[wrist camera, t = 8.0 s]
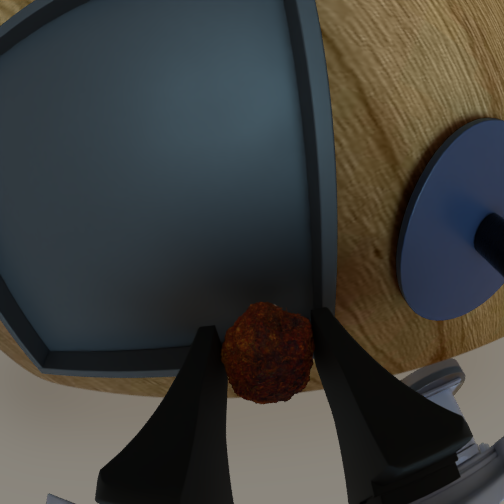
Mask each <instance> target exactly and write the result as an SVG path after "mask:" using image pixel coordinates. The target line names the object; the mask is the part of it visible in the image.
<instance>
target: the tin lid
mask: <svg viewBox="0 0 504 504" xmlns="http://www.w3.org/2000/svg"><path fill="white" fill-rule="evenodd" d="M396 270H397V278H398V284H399V287H400V290H401V293H402V295H403V297H404V299H405V300H406V302H407V303H408V305H409V306H410V308H411V309H412V310H413V311H414V312H415V313H417V314H418V315H420V316H421V317H424V318H426V319H429V320H436V321H437V320H448V319H453V318H456V317H459V316H462V315H464V314H466V313H468V312H470V311H472V310H473V309H475V308H477V307H478V306H480V305H481V304H482V303H484V302H485V301H486V300H487V299H489V298H490V297H491V296H492V295H493V294H494V293H495V292H496V291H497V290H498V289H499V288H500V287H501V286H502V285H503V284H504V121H503V120H500V119H496V118H482V119H477V120H474V121H472V122H470V123H467V124H466V125H464V126H462V127H461V128H459V129H458V130H456V131H455V132H454V133H453V134H452V135H451V136H450V137H449V138H447V139H446V141H445V142H444V143H443V144H442V145H441V146H440V147H439V149H438V150H437V151H436V152H435V154H434V155H433V157H432V158H431V160H430V161H429V163H428V164H427V166H426V167H425V169H424V171H423V173H422V175H421V176H420V178H419V180H418V182H417V184H416V186H415V189H414V191H413V193H412V195H411V197H410V200H409V203H408V206H407V208H406V211H405V214H404V218H403V221H402V225H401V229H400V233H399V239H398V244H397V255H396Z"/></svg>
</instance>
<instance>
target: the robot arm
mask: <svg viewBox="0 0 504 504" xmlns="http://www.w3.org/2000/svg"><path fill="white" fill-rule="evenodd" d="M311 325H312V330H313V338H314V344H315V350H314V352H313V355H314V360H315V364H316V368H317V371H318V373H319V376H320V379H321V382H322V385H323V388H324V391H325V393H326V396H327V399H328V402H329V405H330V408H331V411H332V414H333V418H334V421H335V426H336V430H337V435H338V440H339V445H340V450H341V455H342V461H343V467H344V473H345V479H346V487H347V495H348V503H349V504H500V503H501V502H502V501H503V500H504V437H502V438H501V439H500V440H498V441H497V442H496V443H495V444H494V445H493V446H491V447H489V445H488V444H484V443H481V444H480V445H479V446H478V445H477V444H476V443H475V441H474V438H473V435H472V433H471V431H470V428H469V426H468V424H467V422H466V421H465V419H464V416H463V414H462V412H461V410H460V408H459V406H458V404H457V402H456V400H455V399H454V396H453V394H452V393H453V391H454V390H455V388H456V387H457V386H458V384H459V383H460V381H461V378H460V377H458V378H456V379H454V380H452V381H450V382H448V383H445V384H443V385H441V386H439V387H437V388H434V389H432V390H430V391H427V392H425V393H422V394H419V393H417V392H416V391H414V390H413V389H411V388H410V387H408V386H407V385H405V384H404V383H402V382H401V381H400V380H398V379H397V378H396V377H394V376H393V375H392V374H391V373H389V372H388V371H387V370H386V369H385V368H383V367H382V366H381V365H380V364H379V363H378V362H377V361H375V360H374V359H373V358H372V357H371V356H370V355H369V354H368V353H367V352H366V351H365V350H364V349H363V348H362V347H361V346H360V345H359V344H358V343H357V342H356V341H355V340H354V338H353V337H352V336H351V335H350V334H349V333H348V332H347V331H346V330H345V328H344V327H343V326H342V325H341V324H340V322H339V321H338V320H337V319H336V318H335V316H334V315H333V314H332V312H331V311H330V310H329V308H327V307H323V308H318V309H313V310H311ZM221 349H222V344H221V341H220V339H219V336H218V333H217V330H216V327H215V325H211V326H203V327H199V328H198V329H197V332H196V335H195V337H194V340H193V342H192V344H191V347H190V349H189V351H188V354H187V356H186V358H185V360H184V362H183V364H182V366H181V368H180V370H179V372H178V374H177V376H176V378H175V380H174V381H173V383H172V385H171V387H170V389H169V390H168V392H167V394H166V395H165V397H164V399H163V400H162V402H161V403H160V405H159V406H158V408H157V409H156V411H155V412H154V414H153V415H152V416H151V418H150V419H149V420H148V421H147V423H146V424H145V425H144V427H143V428H142V429H141V430H140V431H139V433H138V434H137V435H136V436H135V437H134V438H133V439H132V440H131V442H130V443H129V444H128V445H127V446H126V447H125V448H124V449H123V450H122V451H121V452H120V453H119V454H118V455H117V456H116V457H114V458H113V459H112V460H111V461H110V462H109V463H108V464H106V465H105V466H104V467H103V468H102V469H101V470H100V472H99V476H98V480H97V488H96V496H95V501H96V502H97V503H99V504H234V502H233V496H232V490H231V483H230V475H229V465H228V456H227V444H226V410H227V386H228V377H227V373H226V369H225V366H224V365H225V364H223V363H222V362H221V357H222V356H221V355H220V354H221ZM479 448H480V449H479ZM46 504H75V503H72V502H70V501H67V500H64V499H62V498H59V497H57V496H54V495H52V494H48V495H47V502H46Z"/></svg>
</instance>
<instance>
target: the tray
mask: <svg viewBox="0 0 504 504" xmlns="http://www.w3.org/2000/svg"><path fill="white" fill-rule="evenodd" d="M336 277H337V184H336V161H335V145H334V131H333V119H332V109H331V99H330V90H329V82H328V74H327V66H326V59H325V53H324V46H323V40H322V34H321V29H320V23H319V18H318V13H317V8H316V3H315V0H35V1H33V2H32V3H30V4H29V5H28V6H26V7H25V8H23V9H22V10H20V11H19V12H18V13H16V14H15V15H14V16H12V17H11V18H10V19H9V20H7V21H6V22H5V23H3V24H2V25H1V26H0V320H1V321H2V323H3V324H4V326H5V327H6V329H7V330H8V331H9V333H10V334H11V336H12V337H13V338H14V340H15V341H16V342H17V344H18V345H19V346H20V347H21V349H22V350H23V351H24V353H25V354H26V355H27V356H28V357H29V359H30V360H31V361H32V362H33V363H34V365H35V366H36V367H37V368H38V369H39V370H40V371H41V373H44V374H54V375H66V376H82V377H108V378H145V377H172V376H177V374H178V372H179V370H180V368H181V366H182V364H183V362H184V360H185V358H186V356H187V354H188V351H189V349H190V347H191V344H192V342H193V340H194V337H195V335H196V332H197V329H198V328H199V327H203V326H211V325H215V327H216V330H217V333H218V336H219V339H220V341H221V344H223V342H224V341H225V338H224V337H225V335H226V331H227V330H228V329H229V328H230V327H232V326H233V325H234V323H235V321H236V320H237V319H238V317H239V316H242V315H243V313H244V312H246V310H247V309H248V307H249V306H250V304H255V303H256V302H258V303H259V302H269V303H272V304H275V305H276V306H279V307H280V308H283V309H281V310H283V311H286V308H287V311H288V312H289V313H294V314H297V313H298V314H301V315H300V316H304V317H305V318H307V319H308V320H309V322H310V324H311V310H313V309H318V308H323V307H327V308H329V310H330V311H331V312H332V314H333V315H334V316H335V300H336ZM287 311H286V312H287ZM222 346H223V345H222ZM312 358H313V359H314V355H313V357H312Z"/></svg>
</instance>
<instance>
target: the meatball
mask: <svg viewBox="0 0 504 504" xmlns="http://www.w3.org/2000/svg"><path fill="white" fill-rule="evenodd" d="M281 309H283V308H280V307H279V306H276V305H275V304H272V303H269V302H259V303H258V302H256V303H255V304H250V306H249V307H248V309H247V310H246V312H244V313H243V315H242V316H239V317H238V319H237V320H236V321H235V323H234V325H233V326H232V327H230V328H229V329H228V330H227V331H226V335H225V337H224V338H225V341H224V342H223V344H222V345H223V346H222V349H221V354H220V355H221V356H222V357H221V362H222V363H223V364H225V365H224V366H225V369H226V373H227V376H228V377H229V378H228V380H229V383H230V384H231V385H232V388H233V390H234V393H236V394H237V396H240V397H242V398H243V399H246V400H250V401H253V402H255V403H259V404H267V403H273V402H274V403H277V402H278V401H284V402H285V401H288V400H290V399H291V397H292V396H293V395H294V394H297V393H298V392H301V391H302V390H303V389H304V388H305V387H306V385H307V383H308V382H309V381H310V376H309V375H310V369H311V368H312V365H313V358H312V357H313V352H314V350H315V344H314V338H313V330H312V325H311V324H310V322H309V320H308V319H307V318H305V317H304V316H300V315H301V314H298V313H297V314H294V313H289V312H288V311H287V308H286V311H287V312H286V311H283V310H281Z"/></svg>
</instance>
